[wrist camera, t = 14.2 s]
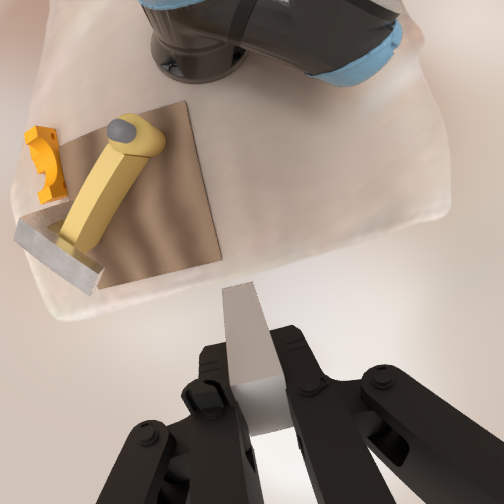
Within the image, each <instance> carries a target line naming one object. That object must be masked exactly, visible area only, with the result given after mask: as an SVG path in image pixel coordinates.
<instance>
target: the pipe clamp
mask: <svg viewBox="0 0 504 504" xmlns="http://www.w3.org/2000/svg"><path fill="white" fill-rule="evenodd" d="M24 135H25V141H26V145H29V148H30V153H31V158H32V160H33V161H34V163H35V166H36V169H37V172H38V174H44V173H46V181H45V185H44V188H43V189H42V190H41V191H40V192H38V197H39V200H40V204H45V203H48V202H52V201H55V200H59V199H61V198H63V197H65V196H67V195H68V192H67V188H66V184H65V179H64V175H63V170H62V165H61V159H60V154H59V148H58V147H59V144H58V140H57V135H56V130H55V129H52V128H47V127H41V126H34V127H33V128H32V129H30V130H29V131H27V132H26V133H24Z"/></svg>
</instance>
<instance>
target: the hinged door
mask: <svg viewBox="0 0 504 504" xmlns="http://www.w3.org/2000/svg"><path fill="white" fill-rule="evenodd" d="M107 136H108V140H109V143H110V144H109V143H108V144H107V146H106V147H105V149H104V150H103V152H102V153H101V155H100V157H99V158H98V160H97V162H96V163H95V165H94V167H93V168H92V170H91V172H90V174H89V175H88V177H87V179H86V181H85V182H84V184H83V186H82V188H81V190H80V192H79V194H78V195H77V197H76V199H75V201H74V203H73V205H72V207H71V209H70V211H69V213H68V216H67V218H66V220H65V222H64V224H63V226H62V229H61V231H60V233H59V235H58V236H59V237H60V238H62V239H63V240H65V241H66V242H67V243H69V244H70V245H72V246H73V247H75V248H76V249H78V250H79V251H81V252H82V253H84V254H86V253H87V252H88V251H90V250H91V249H92V248H94V247H95V246H96V245H97V244H98V243H99V241H100V239H101V237H102V235H103V233H104V231H105V230H106V228H107V226H108V224H109V223H110V221H111V219H112V217H113V216H114V214H115V212H116V210H117V209H118V207H119V205H120V204H121V202H122V200H123V199H124V197H125V196H126V194H127V192H128V191H129V189H130V188H131V186H132V184H133V183H134V181H135V180H136V178H137V177H138V175H139V174H140V172H141V171H142V169H143V168H144V166H145V165H146V163H147V162H148V161H149V159H150V158H149V157H155V156H157V155H159V154H160V153H161V152H162V151H163V150H164V148H165V146H166V137H165V135H164V133H163V132H162V131H161V130H159V129H158V128H156V127H155V126H153V125H152V124H150V123H149V122H147V121H146V120H144V119H143V118H141V117H140V116H138V115H136V114H131V113H129V114H124V115H121V116H120V117H118V118H117V119H115V120H113V121H111V122H110V123H109V125H108V127H107Z"/></svg>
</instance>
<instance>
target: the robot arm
mask: <svg viewBox="0 0 504 504" xmlns="http://www.w3.org/2000/svg"><path fill="white" fill-rule="evenodd" d="M138 1H139V2H140V4H141V6H142V8H143V10H144V12H145V14H146V16H147V18H148V20H149V22H150V24H151V26H152V28H153V30H154V31H153V35H152V38H151V52H152V56H153V58H154V60H155V62H156V64H157V66H158V67H159V68H160V70H161V71H162V72H163V73H164V74H166V75H167V76H169V77H170V78H172V79H174V80H177V81H180V82H184V83H191V84H200V83H208V82H212V81H216V80H218V79H221V78H223V77H225V76H227V75H228V74H230V73H231V72H233V71H234V70H235V69H236V68H237V67H238V66H239V65H240V64H241V63H242V61H243V60H244V58H245V56H246V54H247V51H248V50H249V51H252V52H255V53H258V54H261V55H263V56H266V57H269V58H271V59H274V60H276V61H279V62H281V63H284V64H286V65H289V66H291V67H293V68H296V69H298V70H300V71H302V72H304V74H305V75H307V76H309V77H313V78H318V79H320V80H322V81H325V82H327V83H329V84H331V85H334V86H337V87H351V86H355V85H358V84H360V83H362V82H364V81H366V80H367V79H369V78H370V77H372V76H373V75H374V74H376V73H377V72H378V71H379V70H380V69H381V68H382V67H383V66H384V65H385V64H386V63H387V62H388V61H389V60H390V59H391V57H392V56H393V54H394V52H393V50H394V49H395V48H397V47H398V46H399V44H400V42H401V39H402V27H401V25H400V23H399V22H398V20H397V19H396V18H397V17H398V16H399V14H400V13H401V12H402V6H401V2H400V0H138ZM222 296H223V310H224V323H225V335H226V342H223V343H219V344H214V345H209V346H205V347H204V349H203V350H202V352H201V353H200V355H199V376H198V377H199V378H198V379H195V380H194V381H192V382H191V383H189V384H188V385H187V386H186V387H185V388H184V389H183V391H182V394H181V398H182V399H183V401H184V403H185V405H186V406H187V408H188V410H189V412H190V413H191V415H189V416H188V417H187V418H185V419H183V420H181V421H179V422H176V423H174V424H171V425H168V426H166V425H164V424H163V423H162V422H159V421H156V420H147V421H144V422H141V423H139V424H138V425H136V426H135V427H134V428H133V429H132V431H131V432H130V434H129V435H128V437H127V439H126V441H125V444H124V446H123V448H122V450H121V452H120V454H119V456H118V458H117V460H116V462H115V464H114V466H113V468H112V470H111V472H110V474H109V476H108V479H107V481H106V483H105V485H104V487H103V489H102V491H101V493H100V496H99V498H98V500H97V502H96V504H264V500H263V495H262V490H261V485H260V480H259V475H258V469H257V464H256V459H255V453H254V449H253V447H252V445H251V442H250V436H251V437H252V436H256V435H261V434H266V433H270V432H274V431H278V430H282V429H286V428H290V427H294V428H295V431H296V436H297V441H298V446H299V449H300V450H301V453H302V456H303V459H304V462H305V465H306V468H307V472H308V475H309V478H310V481H311V484H312V487H313V490H314V493H315V496H316V499H317V502H318V504H396V502H395V500H394V498H393V496H392V494H391V492H390V490H389V488H388V486H387V484H386V482H385V480H384V479H383V476H382V475H381V473H380V471H379V469H378V467H377V465H376V463H375V461H374V459H373V457H372V455H371V453H370V451H369V449H368V448H370V450H371V451H372V452H373V453H374V454H375V455H376V456H377V457H378V458H379V459H380V460H381V461H382V462H383V463H384V464H385V465H386V466H387V467H388V468H389V469H390V470H391V471H392V472H393V473H394V474H395V475H396V476H397V477H399V479H400V480H402V481H403V482H404V483H405V484H406V485H407V486H408V487H409V488H410V489H411V490H412V491H413V492H414V493H415V494H416V495H417V496H418V497H419V498H421V499H422V500H423V501H424V502H425V503H426V504H504V442H503V441H501V440H500V439H499V438H497V437H496V436H494V435H493V434H491V433H490V432H488V431H487V430H485V429H484V428H483V427H481V426H480V425H478V424H477V423H476V422H474V421H473V420H471V419H470V418H468V417H467V416H466V415H464V414H463V413H461V412H460V411H458V410H457V409H455V408H454V407H453V406H451V405H450V404H449V403H447V402H446V401H444V400H443V399H441V398H440V397H439V396H437V395H435V394H434V393H433V392H432V391H430V390H429V389H427V388H426V387H424V386H423V385H421V384H420V383H419V382H417V381H416V380H415V379H413V378H412V377H410V376H409V375H408V374H406V373H405V372H403V371H402V370H400V369H399V368H397V367H395V366H393V365H385V364H384V365H377V366H374V367H372V368H370V369H368V370H367V371H366V372H365V373H364V374H363V376H362V379H359V380H350V381H338V380H334V379H331V378H330V377H328V376H327V375H325V374H324V373H323V372H322V370H321V368H320V366H319V364H318V362H317V360H316V359H315V356H314V355H313V353H312V351H311V349H310V347H309V345H308V343H307V341H306V340H305V337H304V335H303V333H302V331H301V330H300V329H298V328H296V327H295V326H293V325H289V326H286V327H282V328H278V329H274V330H270V331H269V330H268V326H267V324H266V320H265V317H264V314H263V312H262V308H261V305H260V303H259V299H258V296H257V293H256V290H255V287H254V284H253V282H249V283H245V284H240V285H236V286H232V287H227V288H224V289H222ZM249 434H250V436H249Z"/></svg>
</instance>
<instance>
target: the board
mask: <svg viewBox="0 0 504 504" xmlns="http://www.w3.org/2000/svg"><path fill="white" fill-rule="evenodd" d="M138 116H140V117H141V118H143V119H144V120H146V121H147V122H149V123H150V124H152V125H153V126H155V127H156V128H158V129H159V130H161V131H162V132H163V133H164V135H165V137H166V146H165V148H164V150H163V151H162V152H161V153H160V154H159V155H157V156H155V157H149V158H150V159H149V161H148V162H147V163H146V165H145V166H144V168H143V169H142V171H141V172H140V174H139V175H138V177H137V178H136V180H135V181H134V183H133V184H132V186H131V188H130V189H129V191H128V192H127V194H126V196H125V197H124V199H123V200H122V202H121V204H120V205H119V207H118V209H117V210H116V212H115V214H114V216H113V217H112V219H111V221H110V223H109V224H108V226H107V228H106V230H105V231H104V233H103V235H102V237H101V239H100V241H99V243H98V244H97V245H96V246H95V247H94V248H92V249H91V250H90V251H88V252H87V253H86V256H88V257H89V258H91V259H93V260H94V261H96V262H97V263H99V264H100V265H102V266H103V267H105V269H104V271H103V273H102V275H101V278H100V280H99V282H98V285H97V287H98V289H103V288H107V287H112V286H116V285H120V284H124V283H128V282H133V281H137V280H141V279H145V278H149V277H154V276H158V275H162V274H166V273H170V272H174V271H179V270H183V269H187V268H191V267H195V266H200V265H204V264H208V263H212V262H216V261H220V260H222V257H221V253H220V249H219V245H218V241H217V237H216V233H215V229H214V225H213V221H212V217H211V213H210V209H209V204H208V200H207V196H206V192H205V188H204V183H203V179H202V175H201V170H200V166H199V161H198V157H197V153H196V148H195V144H194V139H193V134H192V130H191V125H190V120H189V116H188V111H187V106H186V102H185V101H183V102H179V103H175V104H172V105H168V106H164V107H161V108H158V109H154V110H151V111H148V112H145V113H142V114H139V115H138ZM107 127H108V126H105V127H103V128H100V129H98V130H96V131H93V132H91V133H88V134H86V135H84V136H81V137H79V138H77V139H75V140H73V141H70V142H68V143H66V144H64V145H62V146H60V147H58V148H59V154H60V159H61V165H62V170H63V175H64V179H65V184H66V188H67V192H68V196H69V200H70V201H72V200H75V199H76V197H77V195H78V194H79V192H80V190H81V188H82V186H83V184H84V182H85V181H86V179H87V177H88V175H89V174H90V172H91V170H92V168H93V167H94V165H95V163H96V162H97V160H98V158H99V157H100V155H101V153H102V152H103V150H104V149H105V147H106V146H107V144H108V143H109V140H108V136H107ZM109 144H110V143H109Z"/></svg>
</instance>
